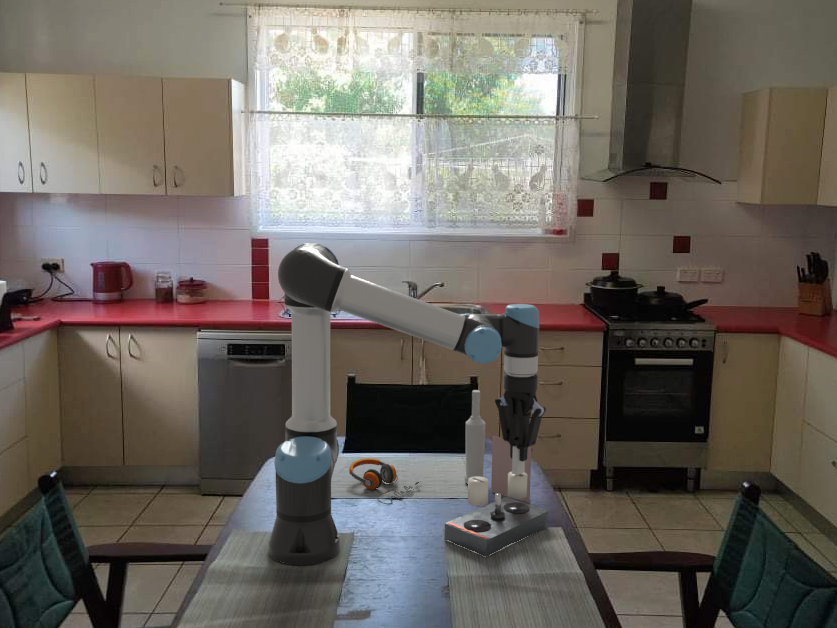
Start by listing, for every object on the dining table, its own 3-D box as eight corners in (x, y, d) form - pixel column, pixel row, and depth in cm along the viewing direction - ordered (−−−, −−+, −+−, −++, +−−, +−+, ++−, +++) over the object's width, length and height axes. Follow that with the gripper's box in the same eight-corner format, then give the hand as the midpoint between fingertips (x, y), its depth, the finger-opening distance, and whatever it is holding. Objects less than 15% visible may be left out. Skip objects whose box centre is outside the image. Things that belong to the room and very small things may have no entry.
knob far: (503, 495, 187) (504, 474, 186) (515, 490, 190) (515, 469, 189) (518, 500, 184) (519, 479, 183) (530, 495, 187) (531, 474, 186)
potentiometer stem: (487, 517, 183) (487, 494, 182) (496, 513, 185) (497, 490, 184) (498, 521, 181) (499, 498, 180) (507, 517, 183) (508, 494, 182)
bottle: (461, 480, 216) (463, 389, 212) (479, 478, 217) (481, 388, 213) (468, 487, 211) (470, 394, 207) (487, 485, 212) (489, 392, 208)
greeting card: (532, 502, 201) (534, 444, 199) (505, 505, 199) (506, 447, 197) (514, 486, 212) (516, 430, 210) (488, 488, 210) (489, 433, 208)
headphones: (389, 497, 197) (335, 461, 209) (385, 516, 199) (332, 479, 211) (434, 479, 209) (380, 446, 222) (430, 497, 211) (377, 463, 223)
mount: (444, 540, 180) (444, 522, 179) (506, 512, 195) (507, 495, 195) (486, 558, 172) (486, 539, 171) (547, 527, 187) (548, 510, 186)
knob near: (463, 501, 177) (464, 479, 176) (476, 496, 180) (477, 474, 179) (479, 507, 174) (479, 485, 173) (492, 502, 177) (492, 479, 176)
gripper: (554, 375, 181) (551, 476, 184) (508, 365, 190) (506, 462, 193) (534, 381, 175) (531, 484, 179) (487, 370, 184) (485, 470, 188)
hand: (518, 473), depth 186 cm, fingers closed
